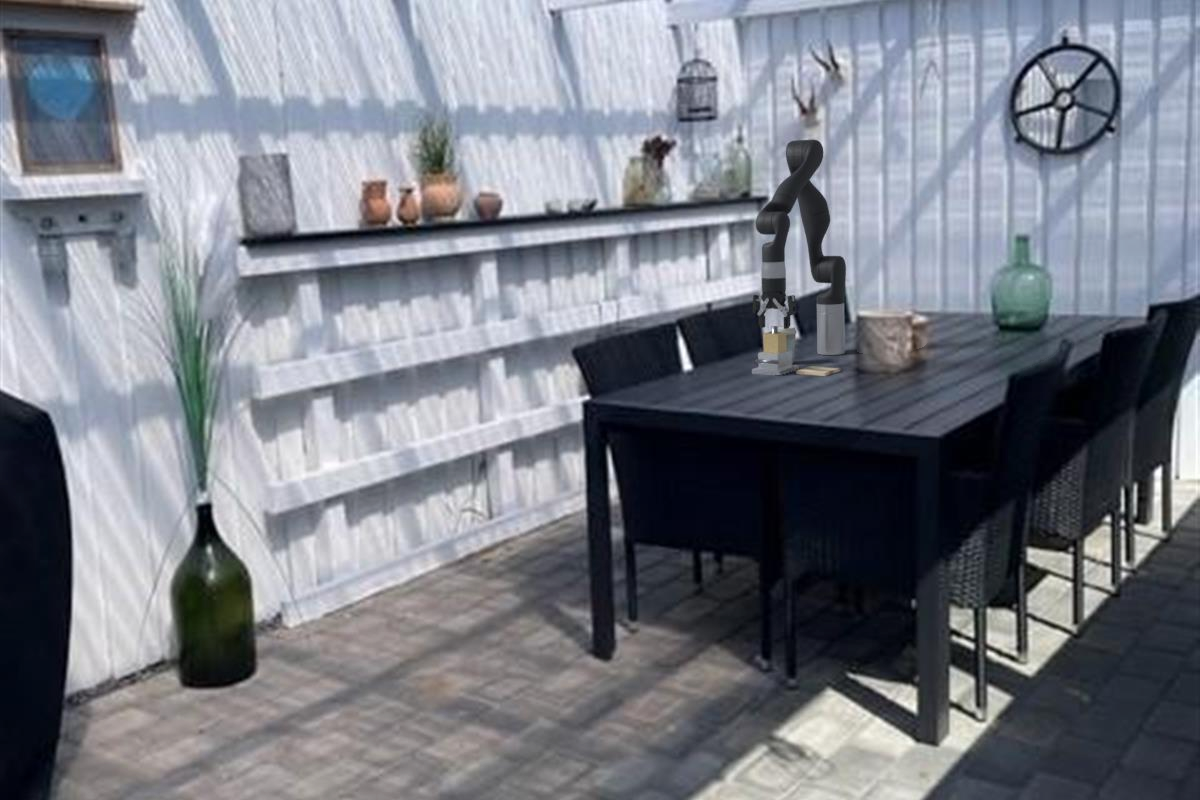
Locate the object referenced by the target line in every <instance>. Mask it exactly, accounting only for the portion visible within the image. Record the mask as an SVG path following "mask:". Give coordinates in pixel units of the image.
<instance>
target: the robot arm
mask: <svg viewBox="0 0 1200 800" xmlns="http://www.w3.org/2000/svg"><path fill="white" fill-rule="evenodd" d="M785 147H786V148H785V160H786V164H787V167H788V170H789V174H790V175H789V176H788V177H786V178H785V179H784V180H783V181H782V182H781V183H780V184H779V185H778V187H777V188H776V190H775V192H774V194H773V196H772V199H771V200H770V201H769V202H768V203H767V204H766V205H765V206H764V207H763V208H762V209H761V210H760V211H759V212H758V214H757V216H756V219H755V229H756V230H757V232H758V233H759V234H761V235H764V236H765V235H766V236H767V235H772V236H773V235H774V239H773V240H772V241H770V242H769V241H768V242H765V243H763V244H762V246H761V270H760V271H761V273H760V274H761V275H760V276H761V292H762V293H761V294H760V293H757V294H753V296H752V313H753V314H755V315H757V317H758V326H759V327H760V329H762V328H763V329H764V328H766V315H765V314H766V313H767V311H768V310H771V309H773V310H779V312H781V313H782V315H783V326H784V329H788V328H789V327H790V326H791V316H793V315H796V313H797V307H796V306H797V305H796V295H795V294H792V295H787V294H786V292H787V291H786V290H787V278H786V277H787V273H786V271H787V270H786V269H787V268H786V262H785V261H786V258H785V257H786V253H785V252H786V251H785V249H786V244H787V239H788V235H789V232H790V228H791V220H790V216H789V215H788V214H790V213H791V212H792V210H793V208H794V206H795V203H796V202H797V203H798V208H799V213H800V219H801V221H802V226H803V231H804V233H805V234H804V235H805V239H806V245H807V251H808V259H809V267H810V273H811V277H812V279H813V281H815V283H818V284H830V288H829V289H828V290H826V291H825V292H822V293H820V294H818V295H817V296H816V345H817V347H816V350H817V351H816V352H817V354H818V355H821V356H822V355H823V356H835V355H844V354H845V353H846V325H845V296H846V278H847V266H846V260H845V259H844V256H842V255H824V253H823V249H822V248H823V246H822V245H823V244H822V243H823V240H824V238H825V236H826V234H827V231H828V230H829V226H830V224H831V215H830V214H831V213H830V210H829V205H828V202H827V201H828V200H827V199H826V198H825V196H824V195H823V194H822V192H820V191H819V189H818V188H817V187H816V186H815V185H814V184H813V182H812V181H811V179H812V177H813V175H814V174H815V172H817V171H818V169H819V167H820V166H821V164H822V162H823V158H824V147H823V144H822V143H821V142H820V141H819V140H818V139H801V140H800V139H798V140H791V141H789V142H788V143H787V145H786V146H785ZM761 301H762V302H763V303H762V305H761ZM785 302H786V303H785ZM787 304H788V305H787Z"/></svg>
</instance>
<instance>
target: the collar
mask: <svg viewBox="0 0 1200 800" xmlns="http://www.w3.org/2000/svg"><path fill="white" fill-rule="evenodd" d="M762 335H763V337H762V338H763V343H762V344H763V345H762V346H763V352H767V353H781V352H784V351H786V332H778V334H773V333H771V331H767V332H763V334H762Z"/></svg>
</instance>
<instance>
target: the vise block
mask: <svg viewBox="0 0 1200 800" xmlns="http://www.w3.org/2000/svg"><path fill="white" fill-rule="evenodd" d="M778 326H779V325H773V326H772V325H771V326H770V327H771V329H770V330H771V331H770V332H771V333H773V334H778ZM754 363H757V365H758V367H754V368H751V374H752V375H761V376H762V375H763V376H775V375H781V376H783V375H782V374H784V375H787V374H786V373H788V374H790V373H789V372H791V373H793V372H792V371H794V372H796V370H800V368H799V367H800V366H799V364H798V365H797V364H796V365H795V364H792V350H786V351H784V352H781V353H767V352H764V351H760V352H757V359H755V360H754Z"/></svg>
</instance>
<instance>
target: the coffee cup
mask: <svg viewBox="0 0 1200 800" xmlns="http://www.w3.org/2000/svg"><path fill="white" fill-rule="evenodd" d="M777 326H778V332H786V350H792V363H793V364H794V358H795V357H794V356H795V349H796V347H795V345H796V338H797V337H796V336H797V334H798V333H797V329H796V326H793V325H790V327H789V328H788V329H784V325H777Z"/></svg>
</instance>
